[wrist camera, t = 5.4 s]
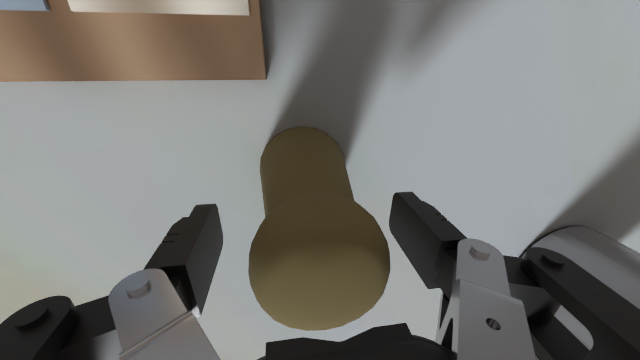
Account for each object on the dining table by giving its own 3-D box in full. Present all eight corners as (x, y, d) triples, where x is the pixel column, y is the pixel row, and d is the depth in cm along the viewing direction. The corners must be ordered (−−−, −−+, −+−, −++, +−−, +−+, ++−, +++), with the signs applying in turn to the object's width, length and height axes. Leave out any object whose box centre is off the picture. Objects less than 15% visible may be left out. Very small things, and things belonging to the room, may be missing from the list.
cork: (254, 128, 16) (207, 229, 6) (345, 124, 17) (435, 210, 7) (264, 207, 19) (242, 369, 9) (342, 201, 19) (404, 345, 9)
